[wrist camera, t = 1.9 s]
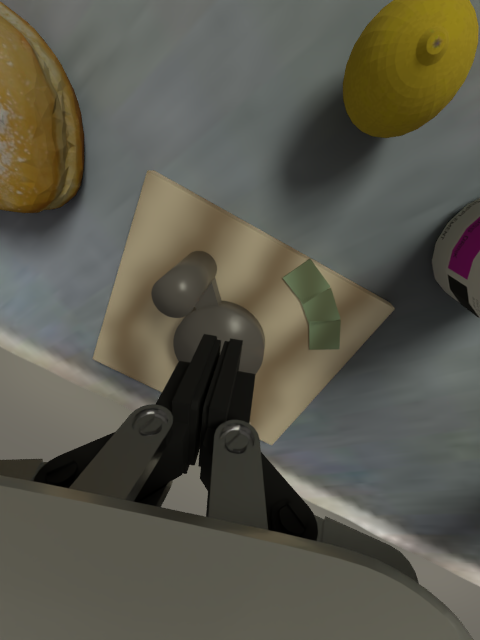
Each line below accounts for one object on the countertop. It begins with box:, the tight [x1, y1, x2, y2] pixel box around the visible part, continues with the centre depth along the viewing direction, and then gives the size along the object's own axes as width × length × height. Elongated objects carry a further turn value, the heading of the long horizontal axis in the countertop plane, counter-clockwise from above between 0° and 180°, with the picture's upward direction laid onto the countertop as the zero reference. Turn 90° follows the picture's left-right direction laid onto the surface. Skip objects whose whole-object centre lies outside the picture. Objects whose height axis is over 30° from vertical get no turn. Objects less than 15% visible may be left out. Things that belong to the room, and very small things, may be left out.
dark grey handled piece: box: [151, 251, 265, 424], centre depth 24 cm, size 19×8×6 cm, turn 13°
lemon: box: [343, 0, 478, 138], centre depth 15 cm, size 6×6×8 cm
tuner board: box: [93, 171, 395, 445], centre depth 27 cm, size 22×20×1 cm
